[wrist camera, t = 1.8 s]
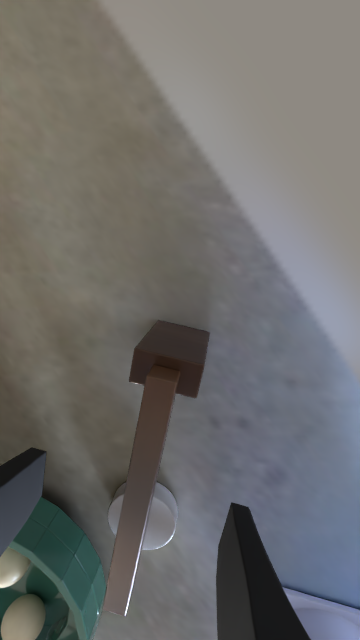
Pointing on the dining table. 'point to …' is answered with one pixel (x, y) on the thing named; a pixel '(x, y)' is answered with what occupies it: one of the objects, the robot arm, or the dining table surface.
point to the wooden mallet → (151, 452)
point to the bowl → (58, 574)
